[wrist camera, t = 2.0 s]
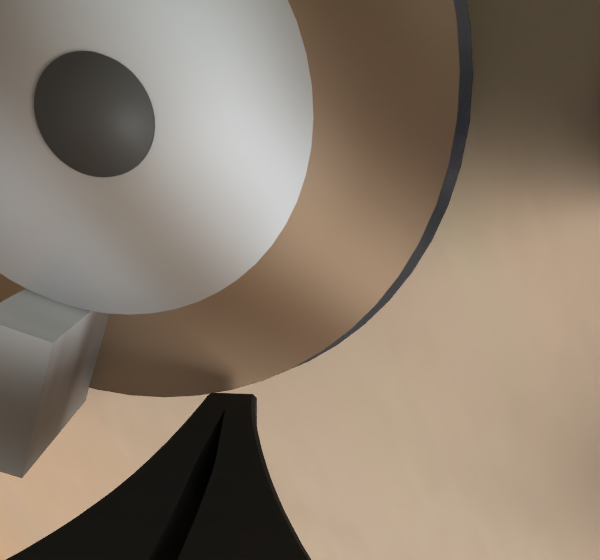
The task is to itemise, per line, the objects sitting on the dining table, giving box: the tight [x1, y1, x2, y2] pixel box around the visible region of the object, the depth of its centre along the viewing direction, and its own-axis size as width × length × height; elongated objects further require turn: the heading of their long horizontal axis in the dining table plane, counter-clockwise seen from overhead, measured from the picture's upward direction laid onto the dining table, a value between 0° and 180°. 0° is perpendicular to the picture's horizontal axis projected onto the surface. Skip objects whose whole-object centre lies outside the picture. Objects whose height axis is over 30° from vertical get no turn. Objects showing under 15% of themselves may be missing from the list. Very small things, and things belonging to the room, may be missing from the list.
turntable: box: [0, 0, 460, 478], centre depth 9 cm, size 16×16×4 cm
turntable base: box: [279, 0, 473, 374], centre depth 12 cm, size 18×18×1 cm
